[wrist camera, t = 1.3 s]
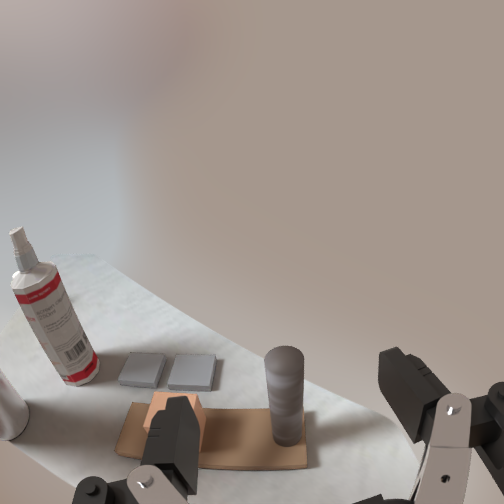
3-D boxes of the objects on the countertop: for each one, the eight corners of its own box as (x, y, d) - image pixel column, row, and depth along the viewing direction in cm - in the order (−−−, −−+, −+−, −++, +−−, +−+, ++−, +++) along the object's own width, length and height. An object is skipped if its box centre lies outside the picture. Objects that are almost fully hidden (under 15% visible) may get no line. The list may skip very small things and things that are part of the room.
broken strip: (120, 384, 39) (117, 379, 39) (132, 357, 45) (130, 352, 44) (210, 391, 38) (209, 385, 37) (216, 360, 43) (215, 354, 43)
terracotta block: (158, 448, 28) (143, 426, 26) (167, 415, 33) (154, 391, 31) (200, 452, 28) (188, 431, 26) (206, 418, 32) (196, 394, 30)
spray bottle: (106, 356, 45) (49, 214, 34) (90, 388, 38) (16, 237, 27) (71, 353, 45) (15, 222, 34) (54, 382, 39) (-17, 244, 28)
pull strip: (118, 454, 28) (59, 381, 22) (135, 407, 35) (92, 328, 29) (306, 468, 26) (313, 396, 20) (303, 411, 33) (304, 326, 27)
